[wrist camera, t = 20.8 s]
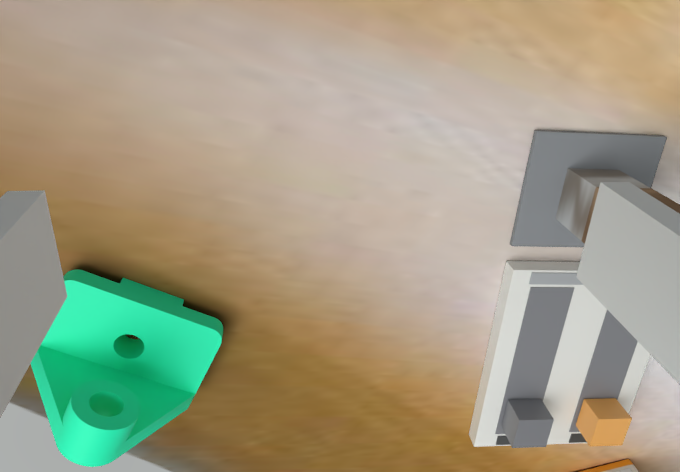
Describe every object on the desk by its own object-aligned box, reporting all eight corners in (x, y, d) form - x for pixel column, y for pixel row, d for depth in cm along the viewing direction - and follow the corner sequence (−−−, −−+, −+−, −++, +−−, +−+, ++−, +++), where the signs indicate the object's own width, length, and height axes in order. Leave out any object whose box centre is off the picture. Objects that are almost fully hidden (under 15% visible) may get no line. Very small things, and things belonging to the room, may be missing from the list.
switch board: (506, 261, 45) (514, 270, 43) (668, 263, 46) (681, 272, 45) (468, 434, 52) (474, 447, 51) (610, 430, 54) (619, 442, 52)
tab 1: (507, 399, 49) (519, 420, 46) (540, 398, 49) (553, 419, 47) (501, 426, 50) (512, 447, 48) (533, 425, 50) (545, 446, 48)
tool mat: (534, 130, 40) (536, 131, 40) (663, 135, 42) (666, 137, 41) (509, 243, 44) (511, 246, 44) (628, 245, 45) (631, 248, 45)
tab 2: (583, 398, 50) (598, 419, 47) (615, 398, 50) (631, 418, 48) (575, 425, 51) (589, 446, 49) (606, 424, 51) (622, 445, 49)
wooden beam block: (567, 168, 41) (697, 254, 29) (618, 169, 42) (767, 255, 29) (555, 218, 43) (672, 320, 30) (604, 219, 44) (739, 320, 31)
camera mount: (228, 314, 44) (217, 405, 35) (192, 386, 47) (172, 488, 37) (72, 258, 41) (14, 342, 32) (42, 338, 43) (-20, 438, 34)
